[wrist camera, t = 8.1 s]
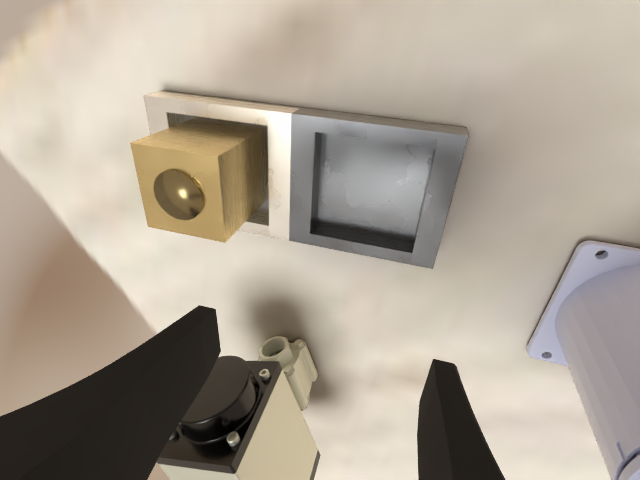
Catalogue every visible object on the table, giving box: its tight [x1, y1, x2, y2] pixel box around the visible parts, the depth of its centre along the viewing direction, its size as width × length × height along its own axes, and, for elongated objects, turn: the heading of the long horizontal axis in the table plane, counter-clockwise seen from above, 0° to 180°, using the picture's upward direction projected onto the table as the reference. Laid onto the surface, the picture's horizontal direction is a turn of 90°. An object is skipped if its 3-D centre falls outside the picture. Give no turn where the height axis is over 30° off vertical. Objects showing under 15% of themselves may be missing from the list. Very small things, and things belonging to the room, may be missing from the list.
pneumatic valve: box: [157, 336, 320, 480], centre depth 23 cm, size 6×12×12 cm, turn 18°
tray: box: [144, 91, 468, 269], centre depth 20 cm, size 16×7×2 cm, turn 88°
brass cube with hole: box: [130, 118, 266, 242], centre depth 19 cm, size 4×4×5 cm
